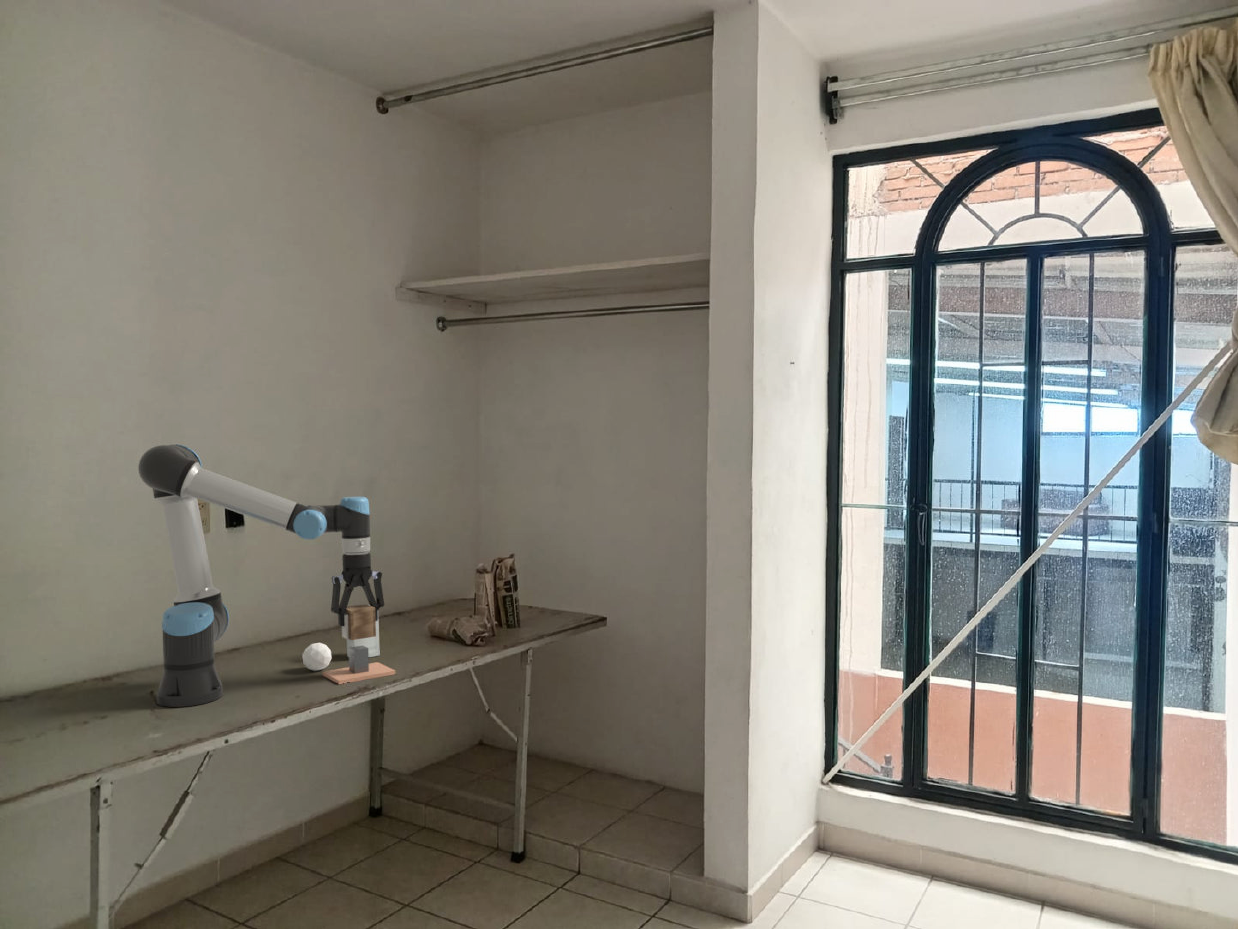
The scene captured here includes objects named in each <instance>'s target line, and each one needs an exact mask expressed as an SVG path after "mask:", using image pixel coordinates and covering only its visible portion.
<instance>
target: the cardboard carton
mask: <svg viewBox="0 0 1238 929" xmlns="http://www.w3.org/2000/svg"><path fill="white" fill-rule="evenodd" d="M369 605H370V604H366V603H362V604H357V605H347V608H346V611H345V614H347V615H348V638H347V639H350V640H356V639H363V638H369V637H375V636H376V619H375V607H372V606H369ZM340 628H341V630H342V626H340ZM347 639H346V640H347Z"/></svg>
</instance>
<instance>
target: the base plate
mask: <svg viewBox="0 0 1238 929" xmlns="http://www.w3.org/2000/svg"><path fill="white" fill-rule="evenodd" d="M391 675H396V670H395V669H393V668H390V666H387V665H385V664H382V663H381V662H371V663H370V662H369V671H368V672H362V673H357V674H354V673H352V672H350V671H349V666H348V667H342V668H337V669H331V670H330V669H329V670H325V671H322V676H323V677H325V678H327V679H328V680H330V681H333V682H334V683H336V684H337V683H338V684H337V685H343V683H344V684H348V683H347V682H350V683H354V682H360V681H365V680H369V679H371V680H372V679H376V678H382V677H386V676H391Z"/></svg>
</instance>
